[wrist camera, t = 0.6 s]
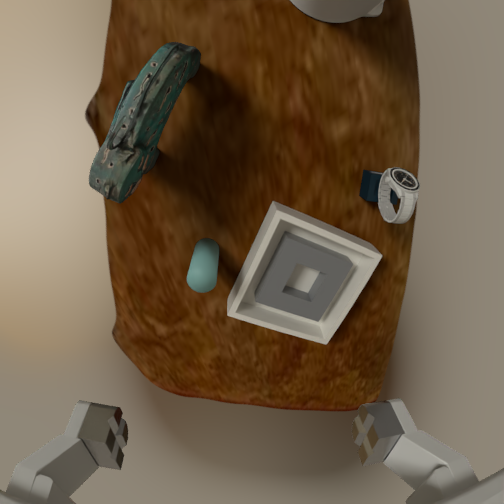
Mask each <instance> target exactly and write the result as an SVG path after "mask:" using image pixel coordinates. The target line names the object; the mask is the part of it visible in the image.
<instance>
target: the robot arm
mask: <svg viewBox="0 0 504 504" xmlns="http://www.w3.org/2000/svg"><path fill="white" fill-rule="evenodd" d="M290 1H291V2H292V3H293V4H294V5H295V6H296V7H297V8H298V9H299V10H301V11H302V12H304V13H305V14H307V15H309V16H311V17H313V18H315V19H318V20H321V21H325V22H331V23H343V22H349V21H352V20H355V19H357V18H359V17H363V16H365V17H376V16H379V15H380V14H381V13H382V9H383V3H384V1H385V0H290ZM122 414H123V413H122V411H121V409H120V407H115V406H108V405H103V404H97V403H92V402H87V401H81V400H79V401H78V402H77V404H76V406H75V408H74V410H73V413H72V415H71V418H70V420H69V423H68V425H67V428H66V430H65V433H64V435H62V434H60V435H58V436H57V437H55V438H54V439H53V440H51V441H50V442H48V443H47V444H45V445H44V446H43V447H41V448H40V449H38V450H37V451H35V452H34V453H32V454H31V455H30V456H28V457H27V458H25V459H24V460H23V461H21V462H19V463H18V464H17V465H16V467H15V470H14V472H13V475H12V477H11V480H10V482H9V485H8V488H7V490H6V492H4V491H2V490H0V504H76V503H75V502H73V501H72V499H71V498H69V496H70V495H72V494H73V493H74V491H76V489H78V488H79V487H80V486H81V485H82V484H83V483H84V482H85V481H86V480H87V479H88V478H89V477H90V476H91V475H92V474H93V473H94V472H95V471H96V470H97V469H98V466H100V467H106V468H112V469H118V470H121V467H122V462H123V457H124V454H123V452H122V450H121V449H122V448H123V447H125V446H126V445H127V440H128V427H127V423H126V421H125V420H124V419H122V418H121V417H122ZM358 414H359V416H357V417H356V418H355V419H354V421H353V424H352V436H353V439H354V442H355V443H356V444H358V445H359V446H360V447H359V450H358V454H359V457H360V460H361V463H362V466H364V465H370V464H375V463H380V462H384V464H385V465H386V466H388V467H389V468H390V469H391V470H392V471H393V472H394V473H396V474H397V475H398V476H399V477H401V479H403V480H404V481H405V482H406V483H407V484H409V485H410V486H411V487H412V488H413V489H414V490H415V491H414V492H413V493H412V494H411V496H409V497H408V499H407V500H406V504H504V468H503V469H501V470H500V471H498V472H496V473H494V474H492V475H491V476H489V477H487V478H485V479H483V480H481V481H478V479H477V477H476V475H475V473H474V471H473V469H472V467H471V466H470V463H469V462H468V460H467V458H466V456H464V455H462V454H460V453H459V452H457V451H455V450H454V449H452V448H450V447H449V446H447V445H445V444H444V443H442V442H440V441H439V440H437V439H435V438H434V437H432V436H430V435H429V434H427V433H426V432H424V431H423V430H417V428H416V426H415V424H414V422H413V420H412V418H411V416H410V414H409V412H408V410H407V408H406V407H405V405H404V403H403V401H402V400H401V399H400V398H398V399H393V400H388V401H380V402H375V403H369V404H363V405H361V406H360V407H359V409H358Z"/></svg>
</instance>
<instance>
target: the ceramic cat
mask: <svg viewBox="0 0 504 504" xmlns="http://www.w3.org/2000/svg"><path fill="white" fill-rule="evenodd" d="M200 57H201V53H200V52H199V50H198V49H197V48H196V47H193V46H187V45H184V44H182V43H178V42H171V43H167V44H165V45H164V46H162V47H161V48H160V49H159V50H158V51H157V52H156V53H155V54H154V55H153V56H152V57H151V59H150V60H149V61H148V62H147V64H146V65H145V66H144V67H143V69H142V70H141V71H140V73H139V75H138V76H137V78H136V79H135V80H131V81H128V82H127V84H126V87H125V89H124V91H123V94H122V97H121V99H120V102H119V104H118V106H117V109H116V112H115V115H114V119H113V122H112V124H111V127H110V130H109V133H108V135H107V137H106V140H105V142H104V143H103V145H102V146H101V148H100V149H99V151H98V153H97V154H96V156H95V158H94V161H93V163H92V166H91V170H90V175H89V184H90V186H91V187H92V188H93V189H95V190H97V191H98V192H99V193H101V194H102V195H104V196H105V197H106V198H107V199H110V200H113V201H115V202H118V203H122V202H123V201H124V200H126V199H127V198H128V197H129V196H130V195H132V194H133V192H134V191H135V190H136V188H137V187H138V185H139V183H140V182H141V180H142V176H143V174H146V173H147V172H148V171H149V170H150V169H152V168H153V167H154V165H155V163H156V160H157V158H158V156H159V153H160V152H159V150H158V148H157V144H158V141H159V138H160V136H161V133H162V131H163V128H164V126H165V124H166V122H167V120H168V118H169V115H170V113H171V111H172V109H173V106H174V104H175V103H176V101H177V99H178V97H179V95H180V93H181V91H182V89H183V87H184V85H185V84H186V82H187V81H188V80H189V79H190V78H193V77H194V76H195V74H196V73H197V71H198V69H199V66H200Z"/></svg>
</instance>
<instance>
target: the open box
mask: <svg viewBox="0 0 504 504" xmlns="http://www.w3.org/2000/svg"><path fill="white" fill-rule="evenodd" d="M381 258H382V255H381V253H380V252H379V251H378V250H377V249H376V248H375V247H374V246H373V245H372V244H371V243H369V242H366V241H364V240H362V239H360V238H358V237H356V236H353V235H351V234H349V233H347V232H345V231H342V230H340V229H338V228H336V227H333V226H331V225H329V224H327V223H324V222H322V221H320V220H317V219H315V218H313V217H310V216H308V215H306V214H303V213H301V212H299V211H296V210H294V209H292V208H289V207H287V206H285V205H282V204H280V203H277V202H275V201H273V202H272V204H271V206H270V208H269V210H268V212H267V214H266V217H265V219H264V221H263V223H262V225H261V228H260V230H259V232H258V234H257V236H256V238H255V241H254V243H253V245H252V247H251V249H250V251H249V254H248V256H247V258H246V260H245V262H244V264H243V267H242V269H241V271H240V273H239V275H238V277H237V280H236V282H235V284H234V286H233V288H232V290H231V293H230V295H229V297H228V304H227V315H228V316H231V317H234V318H237V319H240V320H243V321H247V322H250V323H253V324H256V325H260V326H263V327H266V328H270V329H273V330H276V331H280V332H283V333H287V334H290V335H294V336H297V337H301V338H304V339H308V340H312V341H315V342H319V343H323V344H326V345H327V343H328V342H329V340H330V339H331V337H332V336H333V334H334V333H335V331H336V330H337V328H338V327H339V325H340V324H341V322H342V321H343V319H344V318H345V316H346V315H347V313H348V312H349V310H350V309H351V307H352V305H353V304H354V302H355V301H356V299H357V298H358V296H359V294H360V293H361V291H362V289H363V288H364V286H365V285H366V283H367V281H368V280H369V278H370V276H371V275H372V273H373V271H374V270H375V268H376V266H377V265H378V263H379V261H380V259H381Z"/></svg>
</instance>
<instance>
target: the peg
mask: <svg viewBox="0 0 504 504" xmlns="http://www.w3.org/2000/svg"><path fill="white" fill-rule="evenodd" d="M218 259H219V246H218V244H217V243H216V242H215V241H214V240H212V239H209V238H204V239H201V240H200V241H198V242H197V244H196V246H195V249H194V253H193V256H192V260H191V264H190V268H189V271H188V275H187V282H188V285H189V286H190V287H191V288H192V289H193V290H195V291H197V292H208V291H210V290H212V289H213V288H214V287H215V285H216V281H217V270H218Z"/></svg>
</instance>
